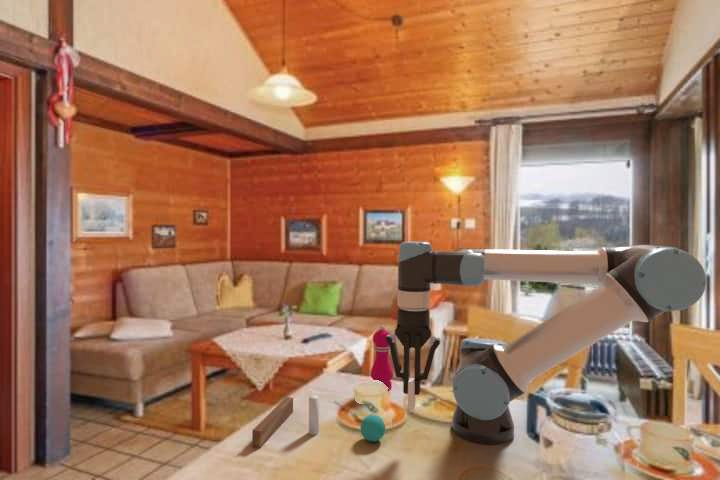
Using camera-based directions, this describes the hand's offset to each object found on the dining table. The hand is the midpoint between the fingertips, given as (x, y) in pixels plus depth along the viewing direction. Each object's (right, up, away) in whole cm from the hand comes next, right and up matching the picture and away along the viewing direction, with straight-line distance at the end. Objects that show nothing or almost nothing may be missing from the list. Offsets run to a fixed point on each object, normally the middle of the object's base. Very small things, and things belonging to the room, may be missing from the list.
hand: (411, 407), depth 103 cm
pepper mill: (-5, -8, +36) cm, 38 cm away
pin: (-24, -9, +6) cm, 26 cm away
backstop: (-34, -8, +8) cm, 36 cm away
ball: (-9, -6, +2) cm, 11 cm away
